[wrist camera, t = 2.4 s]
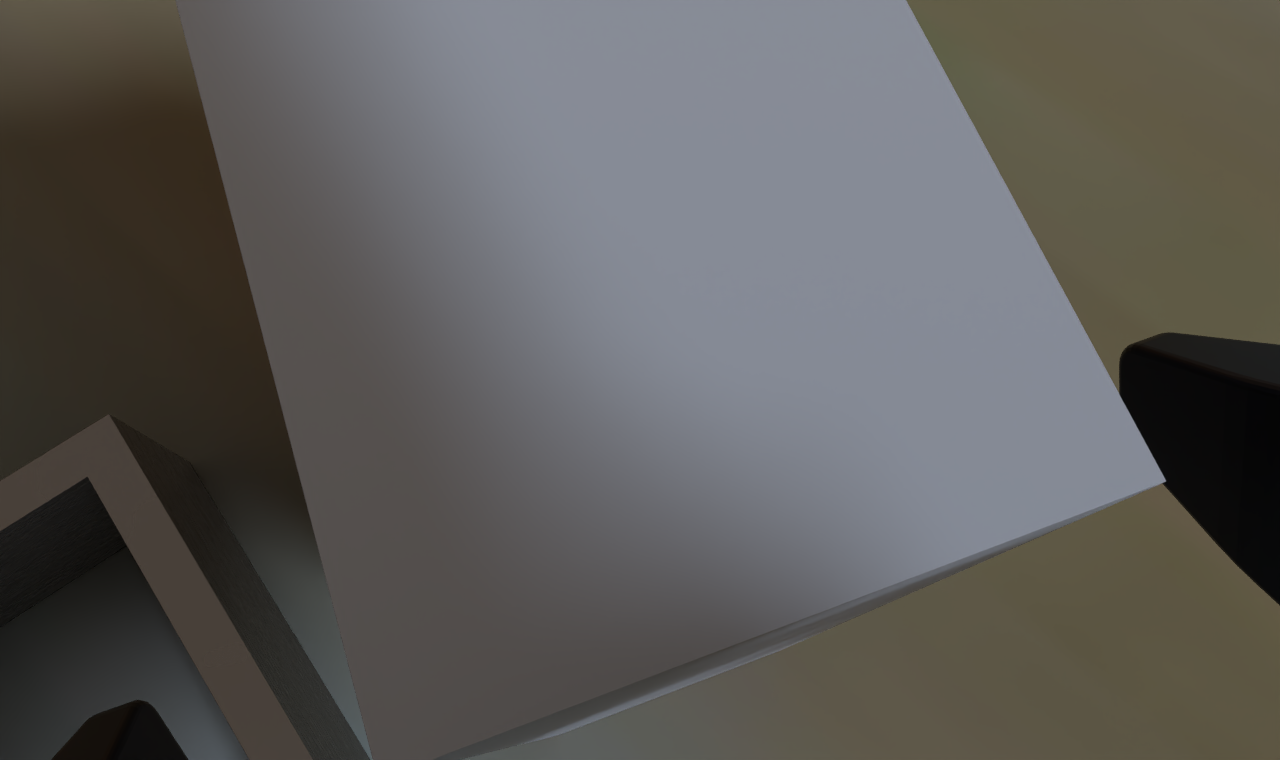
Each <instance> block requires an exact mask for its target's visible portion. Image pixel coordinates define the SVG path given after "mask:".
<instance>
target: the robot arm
mask: <svg viewBox="0 0 1280 760" xmlns="http://www.w3.org/2000/svg"><path fill="white" fill-rule="evenodd" d="M1119 395H1120V397H1121V398H1122V400H1123V402H1124V404H1125V406H1126V408H1127V410H1128V411H1129V413H1130V415H1131V417H1132V419H1133V421H1134V422H1135V424H1136V426H1137V428H1138V430H1139V432H1140V434H1141V435H1142V437H1143V439H1144V441H1145V443H1146V445H1147V446H1148V448H1149V450H1150V452H1151V454H1152V456H1153V458H1154V459H1155V461H1156V463H1157V465H1158V467H1159V469H1160V470H1161V472H1162V474H1163V476H1164V478H1165V480H1166V482H1164V483H1163V485H1164V486H1165V487H1166V488H1167V489H1168V490H1169V491H1170V492H1171V493H1172V495H1173V496H1174V497H1175V498H1176V499H1177V500H1178V501H1179V502H1180V504H1181V505H1182V506H1183V507H1184V508H1185V509H1186V510H1187V511H1188V512H1189V514H1190V515H1191V516H1192V517H1193V518H1194V519H1195V520H1196V521H1197V523H1198V524H1199V525H1200V526H1201V527H1202V528H1203V529H1204V530H1205V531H1206V533H1207V534H1208V535H1209V536H1210V537H1211V538H1212V539H1213V540H1214V542H1215V543H1216V544H1217V545H1218V546H1219V547H1220V548H1221V549H1222V550H1223V551H1224V552H1225V553H1226V554H1227V555H1228V556H1229V558H1230V559H1231V560H1232V561H1233V562H1234V563H1235V564H1236V565H1237V566H1238V567H1239V568H1240V569H1241V570H1242V571H1243V572H1244V573H1245V574H1247V575H1248V576H1249V577H1250V578H1251V579H1252V580H1253V581H1254V582H1255V583H1256V584H1257V585H1258V586H1259V587H1260V588H1261V589H1262V590H1264V591H1265V592H1266V593H1267V594H1268V595H1269V596H1270V597H1271V598H1272V599H1273V600H1274V601H1276V602H1277V603H1278V604H1279V605H1280V345H1277V344H1268V343H1259V342H1250V341H1241V340H1233V339H1224V338H1215V337H1206V336H1198V335H1189V334H1180V333H1161V334H1158V335H1155V336H1153V337H1150V338H1147V339H1144V340H1141V341H1139V342H1136V343H1133V344H1130V345H1129V346H1127V347H1126V348H1125V349H1124V350H1123V352H1122V354H1121V357H1120V362H1119ZM52 760H188V758H187V757H186V755H185V754H184V752H183V751H182V749H181V748H180V746H179V745H178V743H177V741H176V740H175V738H174V737H173V735H172V734H171V732H170V731H169V729H168V728H167V726H166V725H165V723H164V721H163V720H162V718H161V717H160V715H159V714H158V712H157V711H156V710H155V708H154V707H153V706H152V705H150V704H149V703H148V702H145V701H141V700H135V701H132V702H129V703H126V704H124V705H121V706H118V707H115V708H112V709H109V710H107V711H104V712H101V713H98V714H96V715H94V716H92V717H91V718H89V719H88V720H87V721H86V722H85V723H84V724H83V725H82V726H81V727H80V729H79V730H78V731H77V732H76V733H75V734H74V735H73V736H72V737H71V739H70V740H69V741H68V742H67V743H66V744H65V745H64V746H63V747H62V748H61V750H60V751H59V752H58V753H57V754H56V755H55V756H54V757H53V758H52Z"/></svg>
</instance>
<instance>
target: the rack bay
mask: <svg viewBox="0 0 1280 760" xmlns="http://www.w3.org/2000/svg"><path fill="white" fill-rule="evenodd" d="M126 545H127V546H128V548H129V550H130V552H131V553H132V555H133V557H134V559H135V560H136V562H137V564H138V566H139V567H140V569H141V571H142V573H143V574H144V576H145V578H146V580H147V581H148V583H149V585H150V587H151V588H152V590H153V592H154V594H155V595H156V597H157V599H158V601H159V602H160V604H161V606H162V608H163V609H164V611H165V613H166V615H167V616H168V618H169V620H170V622H171V623H172V625H173V627H174V629H175V630H176V632H177V634H178V636H179V637H180V639H181V641H182V643H183V644H184V646H185V648H186V650H187V651H188V653H189V655H190V657H191V658H192V660H193V662H194V664H195V665H196V667H197V669H198V671H199V672H200V674H201V676H202V678H203V679H204V681H205V683H206V685H207V686H208V688H209V690H210V692H211V693H212V695H213V697H214V699H215V700H216V702H217V704H218V706H219V707H220V709H221V711H222V713H223V714H224V716H225V718H226V720H227V721H228V723H229V725H230V727H231V728H232V730H233V732H234V734H235V735H236V737H237V739H238V741H239V742H240V744H241V746H242V748H243V749H244V751H245V753H246V755H247V756H248V758H249V760H370V759H369V757H368V755H367V754H366V752H365V750H364V749H363V747H362V745H361V744H360V742H359V741H358V739H357V737H356V736H355V734H354V732H353V731H352V729H351V727H350V726H349V724H348V722H347V721H346V719H345V717H344V716H343V714H342V713H341V711H340V709H339V708H338V706H337V704H336V703H335V701H334V699H333V698H332V696H331V694H330V693H329V691H328V689H327V688H326V686H325V685H324V683H323V681H322V680H321V678H320V676H319V675H318V673H317V671H316V670H315V668H314V666H313V665H312V663H311V661H310V660H309V658H308V657H307V655H306V653H305V652H304V650H303V648H302V647H301V645H300V643H299V642H298V640H297V638H296V637H295V635H294V633H293V632H292V630H291V629H290V627H289V625H288V624H287V622H286V620H285V619H284V617H283V615H282V614H281V612H280V610H279V609H278V607H277V605H276V604H275V602H274V601H273V599H272V597H271V596H270V594H269V592H268V591H267V589H266V587H265V586H264V584H263V582H262V581H261V579H260V577H259V576H258V574H257V572H256V571H255V569H254V568H253V566H252V564H251V563H250V561H249V559H248V558H247V556H246V554H245V553H244V551H243V549H242V548H241V546H240V544H239V543H238V541H237V540H236V538H235V536H234V535H233V533H232V531H231V530H230V528H229V526H228V525H227V523H226V521H225V520H224V518H223V516H222V515H221V513H220V512H219V510H218V508H217V507H216V505H215V503H214V502H213V500H212V498H211V497H210V495H209V493H208V492H207V490H206V488H205V487H204V485H203V484H202V482H201V480H200V479H199V477H198V475H197V474H196V472H195V470H194V469H193V467H192V465H191V464H190V462H189V461H187V460H185V459H183V458H182V457H180V456H178V455H177V454H175V453H173V452H172V451H170V450H168V449H167V448H165V447H163V446H162V445H160V444H158V443H157V442H155V441H153V440H152V439H150V438H148V437H147V436H145V435H143V434H141V433H140V432H138V431H136V430H135V429H133V428H131V427H130V426H128V425H126V424H125V423H123V422H121V421H120V420H118V419H116V418H115V417H113V416H111V415H110V414H108V415H107V416H105V417H103V418H102V419H100V420H98V421H97V422H95V423H94V424H92V425H90V426H89V427H87V428H85V429H84V430H82V431H81V432H79V433H77V434H76V435H74V436H72V437H71V438H69V439H68V440H66V441H64V442H63V443H61V444H59V445H58V446H56V447H55V448H53V449H51V450H50V451H48V452H46V453H45V454H43V455H42V456H40V457H38V458H37V459H35V460H33V461H32V462H30V463H29V464H27V465H25V466H24V467H22V468H20V469H19V470H17V471H16V472H14V473H12V474H11V475H9V476H7V477H6V478H4V479H3V480H1V481H0V627H1V626H3V625H4V624H6V623H7V622H9V621H10V620H12V619H13V618H15V617H16V616H18V615H20V614H21V613H23V612H24V611H26V610H27V609H29V608H30V607H32V606H33V605H35V604H37V603H38V602H40V601H41V600H43V599H44V598H46V597H47V596H49V595H50V594H52V593H54V592H55V591H57V590H58V589H60V588H61V587H63V586H64V585H66V584H68V583H69V582H71V581H72V580H74V579H75V578H77V577H78V576H80V575H81V574H83V573H85V572H86V571H88V570H89V569H91V568H92V567H94V566H95V565H97V564H98V563H100V562H102V561H103V560H105V559H106V558H108V557H109V556H111V555H112V554H114V553H115V552H117V551H119V550H120V549H122V548H123V547H125V546H126Z"/></svg>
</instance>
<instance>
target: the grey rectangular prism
mask: <svg viewBox="0 0 1280 760" xmlns="http://www.w3.org/2000/svg"><path fill="white" fill-rule="evenodd" d="M176 4H177V8H178V12H179V16H180V19H181V23H182V27H183V31H184V35H185V39H186V43H187V46H188V50H189V54H190V58H191V62H192V66H193V69H194V73H195V77H196V81H197V85H198V89H199V93H200V96H201V100H202V104H203V108H204V112H205V116H206V119H207V123H208V127H209V131H210V135H211V139H212V143H213V146H214V150H215V154H216V158H217V162H218V166H219V169H220V173H221V177H222V181H223V185H224V189H225V193H226V196H227V200H228V204H229V208H230V212H231V216H232V219H233V223H234V227H235V231H236V235H237V239H238V243H239V246H240V250H241V254H242V258H243V262H244V266H245V269H246V273H247V277H248V281H249V285H250V289H251V293H252V296H253V300H254V304H255V308H256V312H257V316H258V319H259V323H260V327H261V331H262V335H263V339H264V343H265V346H266V350H267V354H268V358H269V362H270V366H271V369H272V373H273V377H274V381H275V385H276V389H277V393H278V396H279V400H280V404H281V408H282V412H283V416H284V419H285V423H286V427H287V431H288V435H289V439H290V443H291V446H292V450H293V454H294V458H295V462H296V466H297V469H298V473H299V477H300V481H301V485H302V489H303V493H304V496H305V500H306V504H307V508H308V512H309V516H310V519H311V523H312V527H313V531H314V535H315V539H316V543H317V546H318V550H319V554H320V558H321V562H322V566H323V569H324V573H325V577H326V581H327V585H328V589H329V593H330V596H331V600H332V604H333V608H334V612H335V616H336V619H337V623H338V627H339V631H340V635H341V639H342V643H343V646H344V650H345V654H346V658H347V662H348V666H349V669H350V673H351V677H352V681H353V685H354V689H355V693H356V696H357V700H358V704H359V708H360V712H361V716H362V719H363V723H364V727H365V731H366V735H367V739H368V742H369V746H370V750H371V754H372V758H373V760H460V759H464V758H468V757H472V756H476V755H480V754H484V753H488V752H492V751H496V750H500V749H505V748H509V747H513V746H517V745H521V744H525V743H529V742H533V741H537V740H541V739H545V738H549V737H553V736H557V735H560V734H563V733H565V732H568V731H571V730H573V729H576V728H579V727H581V726H584V725H586V724H589V723H592V722H594V721H597V720H599V719H602V718H605V717H607V716H610V715H613V714H615V713H618V712H620V711H623V710H626V709H628V708H631V707H634V706H636V705H639V704H641V703H644V702H647V701H649V700H652V699H654V698H657V697H660V696H662V695H665V694H668V693H670V692H673V691H675V690H678V689H681V688H683V687H686V686H689V685H691V684H694V683H696V682H699V681H702V680H704V679H707V678H709V677H712V676H715V675H717V674H720V673H723V672H725V671H728V670H730V669H733V668H736V667H738V666H741V665H744V664H746V663H749V662H751V661H754V660H757V659H759V658H762V657H764V656H767V655H770V654H772V653H775V652H778V651H780V650H782V649H784V648H787V647H789V646H791V645H794V644H796V643H798V642H800V641H803V640H805V639H807V638H810V637H812V636H814V635H816V634H819V633H821V632H823V631H826V630H828V629H830V628H832V627H835V626H837V625H839V624H842V623H844V622H846V621H848V620H851V619H853V618H855V617H858V616H860V615H862V614H864V613H867V612H869V611H871V610H874V609H876V608H878V607H880V606H883V605H885V604H887V603H890V602H892V601H894V600H896V599H899V598H901V597H903V596H906V595H908V594H910V593H912V592H915V591H917V590H919V589H922V588H924V587H926V586H928V585H931V584H933V583H935V582H938V581H940V580H942V579H944V578H947V577H949V576H951V575H954V574H956V573H958V572H960V571H963V570H965V569H967V568H970V567H972V566H974V565H976V564H979V563H981V562H983V561H986V560H988V559H990V558H992V557H995V556H997V555H999V554H1001V553H1004V552H1006V551H1008V550H1011V549H1013V548H1015V547H1017V546H1020V545H1022V544H1024V543H1027V542H1029V541H1031V540H1033V539H1036V538H1038V537H1040V536H1043V535H1045V534H1047V533H1049V532H1052V531H1054V530H1056V529H1059V528H1061V527H1063V526H1065V525H1068V524H1070V523H1072V522H1075V521H1077V520H1079V519H1081V518H1084V517H1086V516H1088V515H1091V514H1093V513H1095V512H1097V511H1100V510H1102V509H1104V508H1107V507H1109V506H1111V505H1113V504H1116V503H1118V502H1120V501H1123V500H1125V499H1127V498H1129V497H1132V496H1134V495H1136V494H1139V493H1141V492H1143V491H1145V490H1148V489H1150V488H1152V487H1155V486H1157V485H1159V484H1161V483H1164V482H1166V480H1165V478H1164V476H1163V474H1162V472H1161V470H1160V469H1159V467H1158V465H1157V463H1156V461H1155V459H1154V458H1153V456H1152V454H1151V452H1150V450H1149V448H1148V446H1147V445H1146V443H1145V441H1144V439H1143V437H1142V435H1141V434H1140V432H1139V430H1138V428H1137V426H1136V424H1135V422H1134V421H1133V419H1132V417H1131V415H1130V413H1129V411H1128V410H1127V408H1126V406H1125V404H1124V402H1123V400H1122V398H1121V397H1120V395H1119V393H1118V391H1117V389H1116V387H1115V386H1114V384H1113V382H1112V380H1111V378H1110V376H1109V374H1108V373H1107V371H1106V369H1105V367H1104V365H1103V363H1102V362H1101V360H1100V358H1099V356H1098V354H1097V352H1096V350H1095V349H1094V347H1093V345H1092V343H1091V341H1090V339H1089V338H1088V336H1087V334H1086V332H1085V330H1084V328H1083V326H1082V325H1081V323H1080V321H1079V319H1078V317H1077V315H1076V314H1075V312H1074V310H1073V308H1072V306H1071V304H1070V302H1069V301H1068V299H1067V297H1066V295H1065V293H1064V291H1063V290H1062V288H1061V286H1060V284H1059V282H1058V280H1057V278H1056V277H1055V275H1054V273H1053V271H1052V269H1051V267H1050V265H1049V264H1048V262H1047V260H1046V258H1045V256H1044V254H1043V253H1042V251H1041V249H1040V247H1039V245H1038V243H1037V241H1036V240H1035V238H1034V236H1033V234H1032V232H1031V230H1030V229H1029V227H1028V225H1027V223H1026V221H1025V219H1024V217H1023V216H1022V214H1021V212H1020V210H1019V208H1018V206H1017V205H1016V203H1015V201H1014V199H1013V197H1012V195H1011V193H1010V192H1009V190H1008V188H1007V186H1006V184H1005V182H1004V181H1003V179H1002V177H1001V175H1000V173H999V171H998V169H997V168H996V166H995V164H994V162H993V160H992V158H991V157H990V155H989V153H988V151H987V149H986V147H985V145H984V144H983V142H982V140H981V138H980V136H979V134H978V133H977V131H976V129H975V127H974V125H973V123H972V121H971V120H970V118H969V116H968V114H967V112H966V110H965V109H964V107H963V105H962V103H961V101H960V99H959V97H958V96H957V94H956V92H955V90H954V88H953V86H952V85H951V83H950V81H949V79H948V77H947V75H946V73H945V72H944V70H943V68H942V66H941V64H940V62H939V60H938V59H937V57H936V55H935V53H934V51H933V49H932V48H931V46H930V44H929V42H928V40H927V38H926V36H925V35H924V33H923V31H922V29H921V27H920V25H919V24H918V22H917V20H916V18H915V16H914V14H913V12H912V11H911V9H910V7H909V5H908V3H907V1H906V0H176Z"/></svg>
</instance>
